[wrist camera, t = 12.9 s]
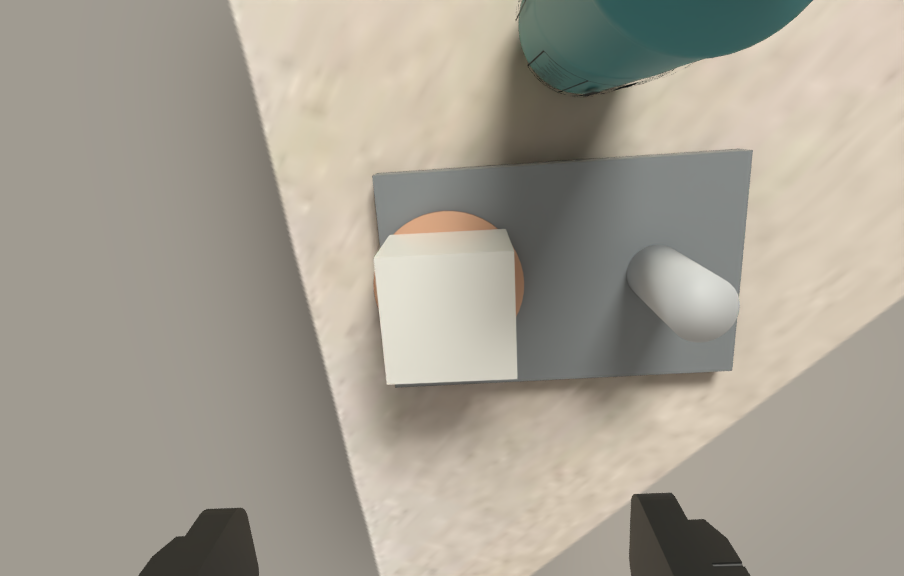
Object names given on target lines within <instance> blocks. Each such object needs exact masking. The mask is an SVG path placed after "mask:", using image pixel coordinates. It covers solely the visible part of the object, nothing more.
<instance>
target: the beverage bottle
mask: <svg viewBox="0 0 904 576" xmlns="http://www.w3.org/2000/svg"><path fill="white" fill-rule="evenodd" d="M812 1H813V0H522V1H521V4H520V6H521V7H520V12H519V14H518V15H517V18H518V16H519V37H520V42H521V46H522V49H523V52H524V55H525V57H526V59H527V61H528V63H529V64H528V66H529V65H530V66H531V67H532V69H533V71H535V72H536V76H537V75H538V76H537V77H539V79H540V80H541V79H543V80H544V81H545V83H546V85H547V83H548V85H549V87H550V85H551V87H552V86H553V87H554V88H557V89H559V90H562V91H565V92H569V93H575V94H583V95H578V97H579V96H581V97H582V96H584V97H586V96H589V95H593V94H596V93H600V92H599V91H602V90H606V89H607V90H609V88H613V87H616V86H620V88H618V89H621V88H625V87H627V88H628V87H630V86H631V87H632V85H635V84H636V83H634V84H630V85H626V86H623V85H624V84H627V83H630V82H634V81H637V80H641V79H644V78H648V77H649V78H650V77H651V76H655V75H657V76H658V74H660V76H661V73H663V72H666V71H669V70H672V69H673V70H674V69H675V68H677V67H679V66H683V65H686V64H689V63H692V62H694V63H695V62H696V61H699V60H702V59H705V58H714V57H719V56H723V55H728V54H732V53H735V52H738V51H740V50H743V49H746V48H749V47H751V46H753V45H755V44H757V43H759V42H761V41H763V40H765V39H767V38H768V37H770V36H771V35H773V34H774V33H776V32H777V31H779V30H781V29H782V28H783V27H784V26H786V25H787V24H788V23H789V22H791V21H792V20H793V19H794V18H796V17H797V16H798V15H799V14H800V13H801V12H802V11H803V10H804V9H805V8H806V7H807V6H808V5H809V4H810V3H811V2H812ZM518 2H519V1H518ZM518 7H519V5H518ZM516 12H517V11H516ZM517 18H516V20H517ZM692 64H693V63H692ZM689 66H690V65H689ZM687 67H688V66H687ZM528 68H529V67H528ZM673 70H672V71H673ZM530 71H531V70H530ZM663 74H664V73H663ZM663 74H662V76H664V75H663ZM673 74H674V73H673ZM665 75H666V73H665ZM671 75H672V74H671ZM534 76H535V75H534ZM536 76H535V77H536ZM662 76H661V77H662ZM658 77H659V76H658ZM652 78H653V77H652ZM659 78H660V77H659ZM663 78H664V77H663ZM539 79H538V80H539ZM650 79H651V78H650ZM654 79H655V78H654ZM657 79H658V78H657ZM540 80H539V81H540ZM647 80H649V79H647ZM541 81H542V80H541ZM541 81H540V82H541ZM645 81H646V80H645ZM649 81H650V80H649ZM651 81H652V79H651ZM542 82H543V81H542ZM642 82H643V81H642ZM637 83H638V82H637ZM640 83H641V82H640ZM640 83H639V84H640ZM644 83H645V82H644ZM644 83H642V84H644ZM637 85H638V84H637ZM621 86H623V87H621ZM547 87H548V86H547ZM553 87H552V88H553ZM550 89H551V88H550ZM614 89H616V90H618V89H617V88H614ZM552 90H553V89H552ZM554 91H555V90H554ZM562 91H559V92H562ZM611 91H614V90H611ZM556 92H557V91H556ZM559 92H558V93H559ZM608 92H609V91H608ZM561 94H562V93H561ZM601 94H604V93H601ZM564 95H565V94H564ZM572 96H573V95H572ZM573 97H574V96H573ZM592 97H593V96H592Z"/></svg>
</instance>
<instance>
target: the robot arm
mask: <svg viewBox="0 0 904 576" xmlns="http://www.w3.org/2000/svg"><path fill="white" fill-rule="evenodd" d="M629 561H630V569H631V576H750V574H749V573H748V571H747V569H746V568H745V567H743V566H742V561H741V560H740V558H739V557H738V555H737V553H736V552H735V550H734V549H733V547H732V545H731V544H730V542H729V541H728V539H727V538H726V537H725V536H724V535H722V534H721V533H720V532H719V531H718V530H716V529H715V528H714V527H713V526H712V525H710V524H709V523H708V522H706V520H704V519H699V520H688V519H687V517H686V516H685V514H684V512H683V510H682V508H681V507H680V505H679V503H678V501H677V499H676V498H675V496H674V495H673V494H672V493H651V494H634V495H633V496H632V499H631V518H630V549H629ZM139 576H259V568H258V562H257V558H256V553H255V548H254V544H253V539H252V535H251V530H250V525H249V521H248V516H247V513H246V511H245V510H244V509H243V508H224V509H206V510H204V511H203V512H202V513H201V514H200V515H199V517H198V518H197V520H196V521H195V522H194V524H193V525H192V527H191V528H190V530H189V531H188V533H187V534H186V536H182V537H176V538H174V539H173V540H172V541H171V542H170V543H168V544H167V545H166V546H165V547H163V548H162V549H161V550H160V551H159V552H157V553H156V554H155V555H154V556H152V558H151V559H150V561H149V562H148V563H147V565H146V566H145V567H144V569H143V570H142V571H141V573H140V574H139Z"/></svg>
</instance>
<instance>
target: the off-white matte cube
mask: <svg viewBox="0 0 904 576" xmlns="http://www.w3.org/2000/svg"><path fill="white" fill-rule="evenodd" d="M374 267H375V277H376V287H377V296H378V306H379V315H380V325H381V334H382V344H383V354H384V363H385V373H386V382H387V385H391V384H414V383H438V382H462V381H485V380H509V379H517V341H516V302H515V263H514V249H513V246H512V244H511V241H510V239H509V236H508V233H507V231H506V229H491V230H473V231H454V232H435V233H417V234H398V235H389V236H388V238H387V239H386V241H385V242H384V244H383V245H382V246H381V248H380V249H379V251H378V252H377V254H376V255H375V257H374Z"/></svg>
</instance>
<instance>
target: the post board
mask: <svg viewBox="0 0 904 576" xmlns="http://www.w3.org/2000/svg"><path fill="white" fill-rule="evenodd" d="M752 152H753V150H744V149H730V150H715V151H700V152H685V153H671V154H656V155H641V156H626V157H611V158H596V159H582V160H567V161H552V162H537V163H522V164H507V165H493V166H478V167H463V168H448V169H433V170H418V171H403V172H389V173H377V174H375V175H373V176H372V177H373V186H374V196H375V205H376V214H377V223H378V232H379V241H380V248H381V246H382V245H383V244H384V242H385V241H386V239H387V238H388V236H389V235H393V234H394V233H395V232H396V231H397V230H398V229H399V228H401V227H402V226H403V225H404V224H406V223H407V222H409V221H411V220H413V219H414V218H416V217H419V216H421V215H424V214H427V213H431V212H436V211H461V212H466V213H470V214H473V215H476V216H478V217H481V218H483V219H485V220H486V221H488V222H490V223H491V224H493V225H494V226H495V227H497V228H498V229H506V231H507V233H508V236H509V239H510V241H511V244H512V245H513V247H514V249H515V251H516V252H517V255H518V258H519V260H520V263H521V266H522V270H523V276H524V294H523V299H522V303H521V306H520V310H519V312H518V314H517V316H516V341H517V379H509V380H485V381H462V382H438V383H414V384H395V388H397V387H417V386H437V385H457V384H477V383H497V382H517V381H537V380H557V379H577V378H597V377H617V376H637V375H657V374H677V373H697V372H717V371H732V367H733V356H734V345H735V335H736V324H737V317H738V313H739V308H740V302H739V292H740V281H741V270H742V259H743V249H744V238H745V227H746V217H747V206H748V195H749V184H750V174H751V163H752Z"/></svg>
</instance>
